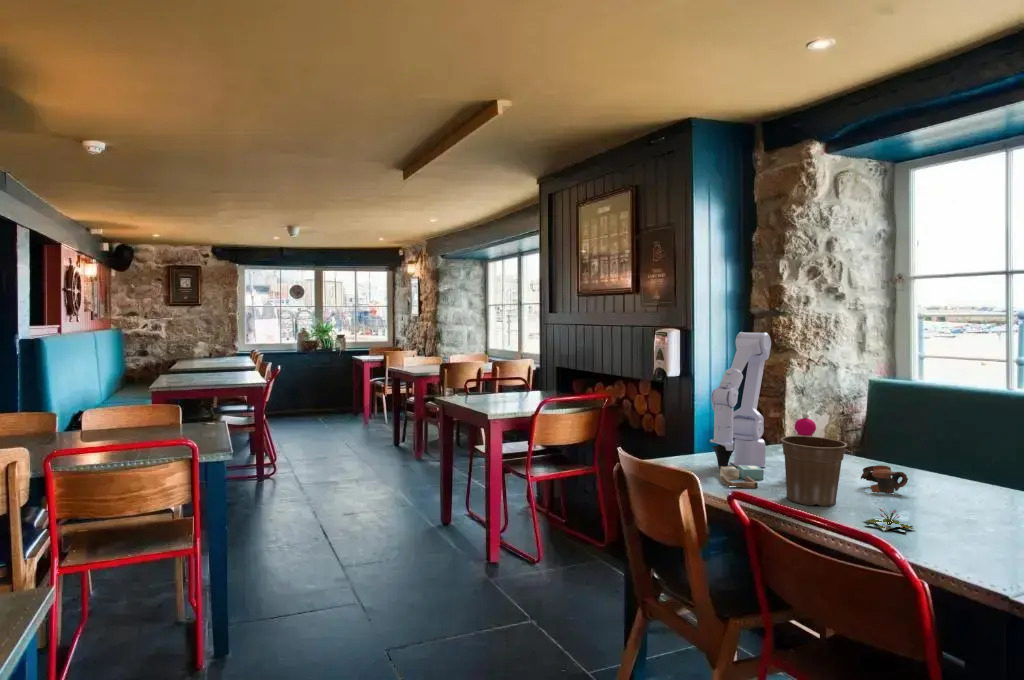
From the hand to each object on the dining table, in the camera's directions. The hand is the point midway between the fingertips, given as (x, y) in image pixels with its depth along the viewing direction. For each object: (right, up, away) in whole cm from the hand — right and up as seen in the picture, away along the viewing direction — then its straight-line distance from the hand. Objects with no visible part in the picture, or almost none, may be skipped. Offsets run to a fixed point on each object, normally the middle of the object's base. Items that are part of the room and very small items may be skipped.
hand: (722, 469), depth 218 cm
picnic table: (0, -2, -15) cm, 15 cm away
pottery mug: (+39, -2, -22) cm, 45 cm away
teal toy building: (+6, -1, -6) cm, 9 cm away
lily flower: (+23, -4, -55) cm, 59 cm away
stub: (0, -2, -7) cm, 7 cm away
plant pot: (+14, -3, -33) cm, 36 cm away
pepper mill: (+22, -2, -8) cm, 24 cm away
